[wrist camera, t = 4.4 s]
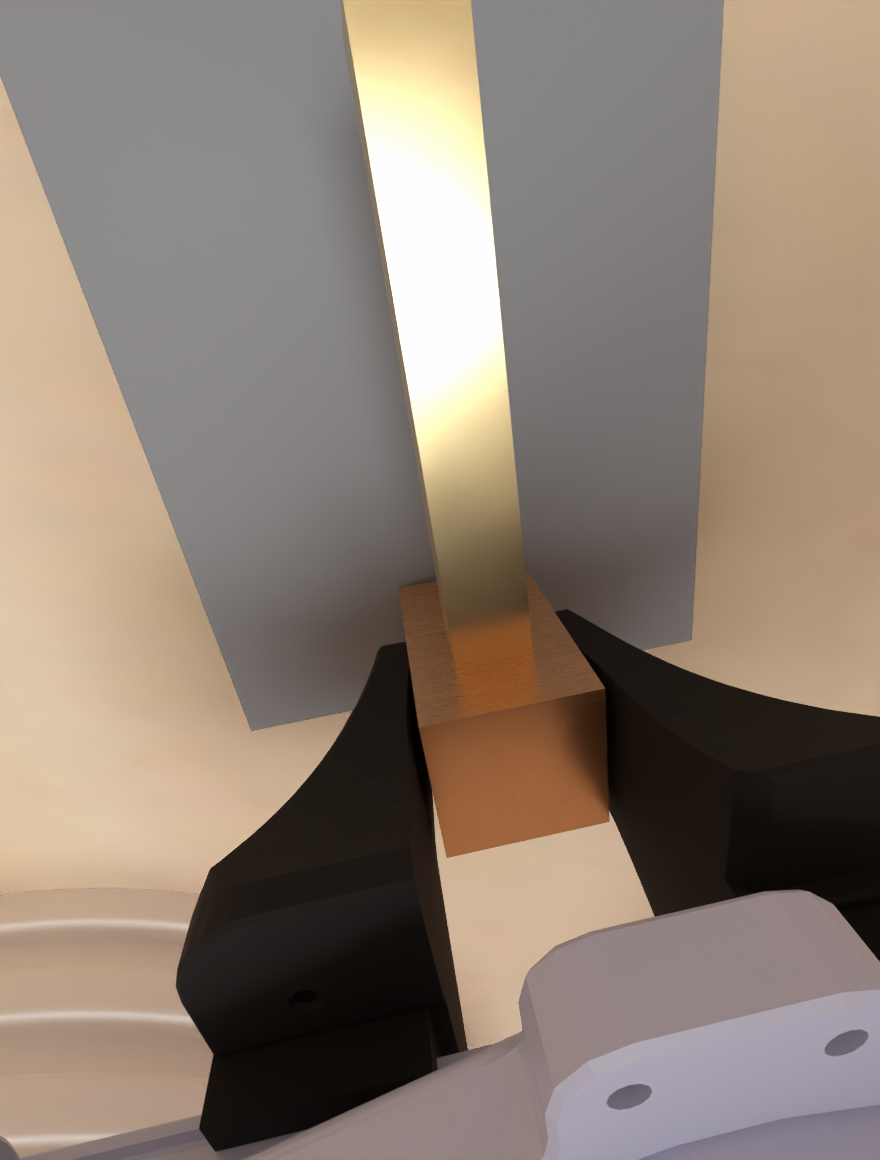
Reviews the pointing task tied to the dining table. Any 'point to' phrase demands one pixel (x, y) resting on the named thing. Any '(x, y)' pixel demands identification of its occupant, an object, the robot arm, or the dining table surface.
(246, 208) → the block
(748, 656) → the dining table surface
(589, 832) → the dining table surface
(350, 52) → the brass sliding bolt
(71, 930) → the plate stack
